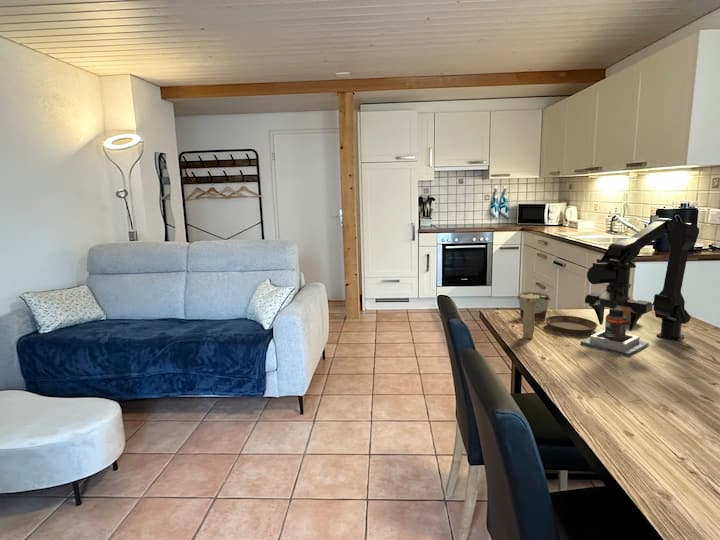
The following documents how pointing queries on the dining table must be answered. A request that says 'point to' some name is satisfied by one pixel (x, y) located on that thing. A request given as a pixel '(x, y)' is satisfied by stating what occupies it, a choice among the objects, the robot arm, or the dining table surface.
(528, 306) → the handle
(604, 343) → the grey square tray
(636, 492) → the dining table surface
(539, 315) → the food container
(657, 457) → the dining table surface
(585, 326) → the plant saucer
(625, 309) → the natural sponge
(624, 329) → the supplement bottle
